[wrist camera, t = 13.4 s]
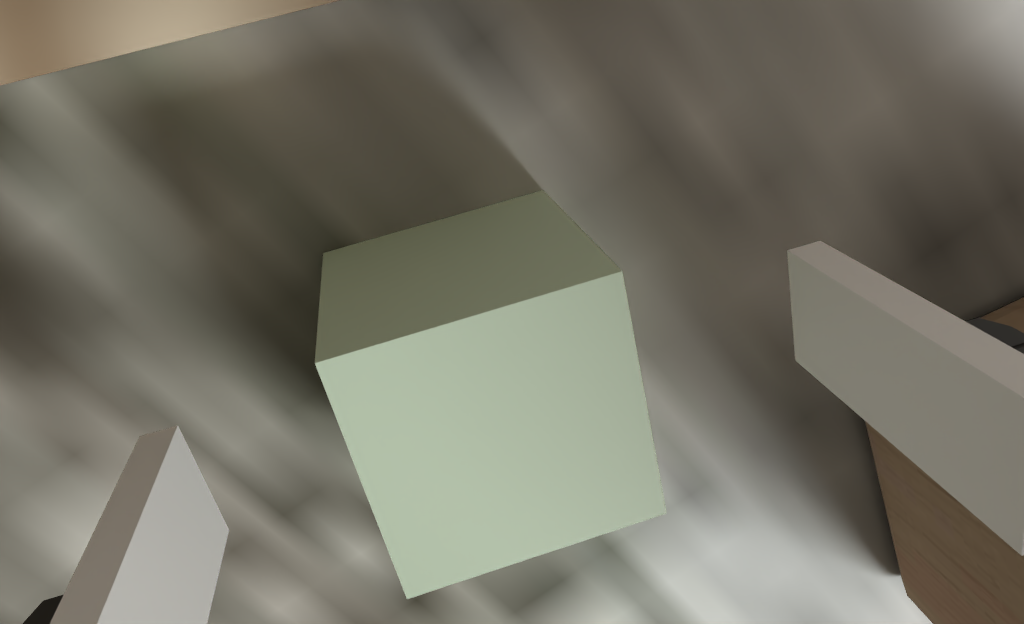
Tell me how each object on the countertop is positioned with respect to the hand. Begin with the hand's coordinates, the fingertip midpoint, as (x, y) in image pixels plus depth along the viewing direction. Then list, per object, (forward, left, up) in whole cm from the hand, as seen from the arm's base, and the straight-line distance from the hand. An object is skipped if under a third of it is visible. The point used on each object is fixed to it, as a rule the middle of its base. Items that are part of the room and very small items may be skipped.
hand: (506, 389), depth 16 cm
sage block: (0, 0, -4) cm, 4 cm away
